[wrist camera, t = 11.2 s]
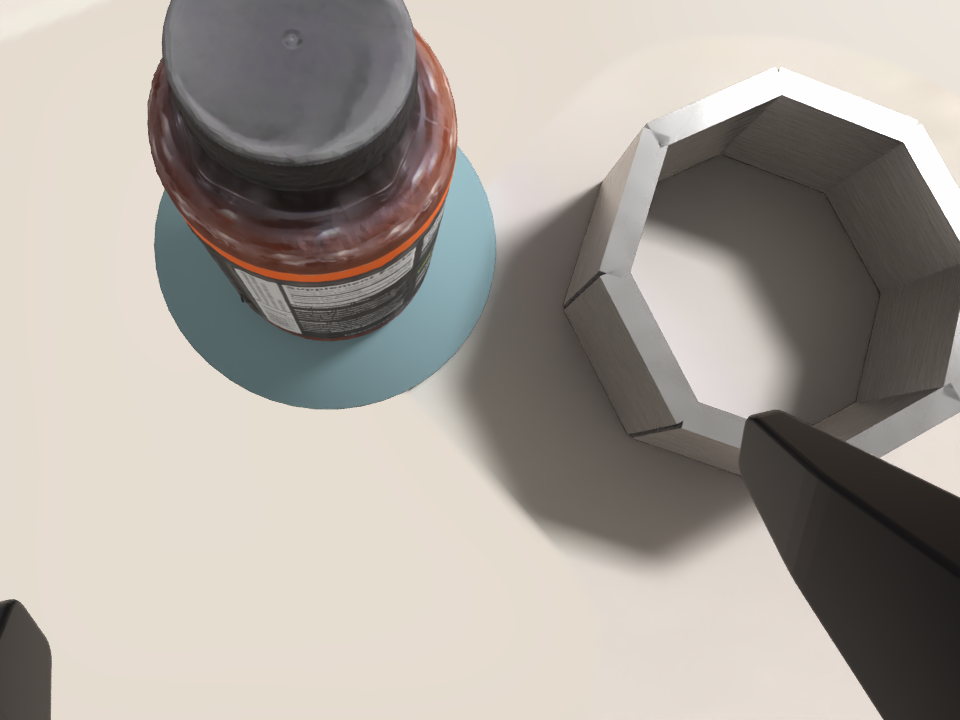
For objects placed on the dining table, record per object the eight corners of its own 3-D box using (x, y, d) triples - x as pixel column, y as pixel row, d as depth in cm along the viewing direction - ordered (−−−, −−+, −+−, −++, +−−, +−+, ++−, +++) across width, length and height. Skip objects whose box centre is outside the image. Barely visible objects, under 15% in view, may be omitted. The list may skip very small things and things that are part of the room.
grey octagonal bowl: (676, 530, 24) (736, 539, 20) (516, 218, 25) (543, 168, 21) (951, 377, 26) (1054, 357, 22) (794, 94, 27) (866, 27, 23)
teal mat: (244, 468, 22) (242, 468, 22) (102, 163, 23) (98, 158, 23) (549, 322, 24) (552, 319, 24) (407, 45, 25) (407, 38, 25)
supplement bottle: (222, 156, 23) (87, -140, 12) (422, 150, 24) (463, -132, 13) (231, 354, 23) (94, 226, 11) (438, 340, 23) (497, 209, 12)
